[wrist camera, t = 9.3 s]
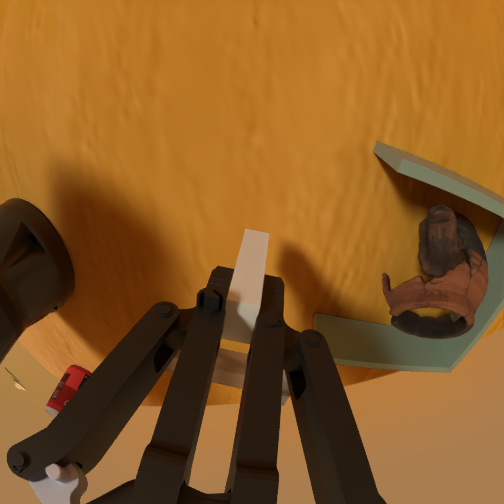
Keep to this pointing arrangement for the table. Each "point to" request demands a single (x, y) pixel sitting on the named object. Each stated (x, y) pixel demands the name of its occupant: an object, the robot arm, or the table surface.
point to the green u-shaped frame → (452, 349)
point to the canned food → (66, 389)
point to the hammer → (232, 370)
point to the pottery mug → (442, 278)
